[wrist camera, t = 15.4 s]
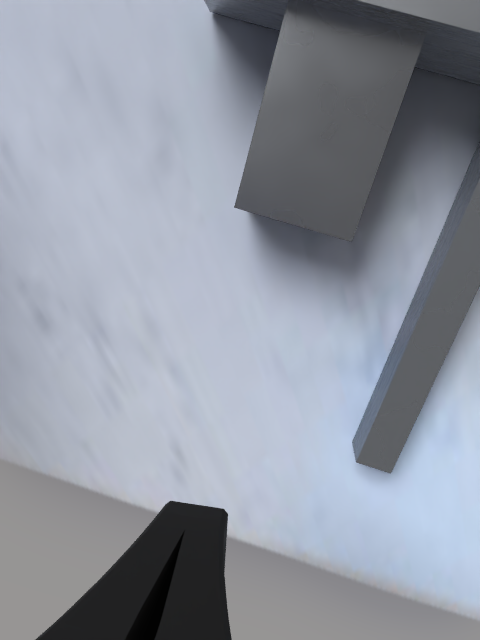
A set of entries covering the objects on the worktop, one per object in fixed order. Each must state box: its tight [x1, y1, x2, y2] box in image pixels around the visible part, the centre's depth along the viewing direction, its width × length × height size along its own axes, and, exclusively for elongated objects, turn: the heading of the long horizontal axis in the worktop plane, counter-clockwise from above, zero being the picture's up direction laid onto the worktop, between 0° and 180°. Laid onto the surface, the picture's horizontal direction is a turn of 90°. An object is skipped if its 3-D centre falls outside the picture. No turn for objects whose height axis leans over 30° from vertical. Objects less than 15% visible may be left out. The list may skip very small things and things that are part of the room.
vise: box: [352, 142, 480, 473], centre depth 13 cm, size 12×28×5 cm, turn 164°
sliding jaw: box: [204, 0, 480, 242], centre depth 13 cm, size 10×9×4 cm
